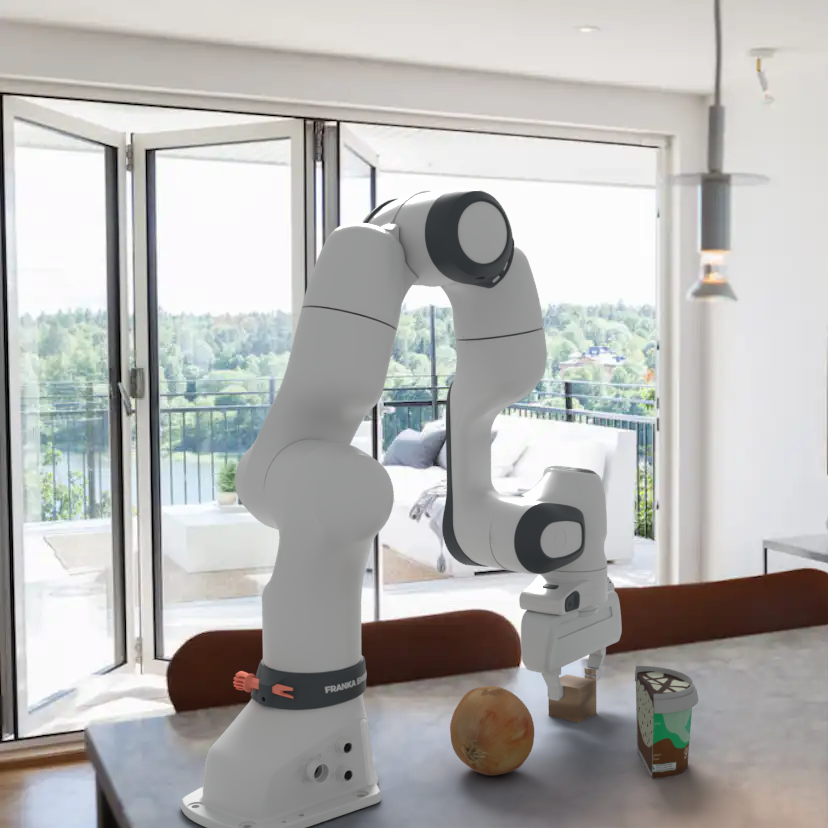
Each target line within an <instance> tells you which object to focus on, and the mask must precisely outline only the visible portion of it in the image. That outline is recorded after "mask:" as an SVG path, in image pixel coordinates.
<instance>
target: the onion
mask: <svg viewBox="0 0 828 828" xmlns="http://www.w3.org/2000/svg"><path fill="white" fill-rule="evenodd" d="M449 725H450V726H449V728H450V729H449V731H450V742H451V745H452V749H453V751H454V753H455V755H456V756H457V757H458V758H459V760H460V761H461V762H462V763H464V764H465V765H466V766H467V767H468V768H470V769H471V770H472V771H474V772H477V773H479V774H482V775H485V776H498V775H499V776H500V775H504V774H509V773H510V772H513V771H515V770H517V769H519V768H521V766H522V765H523V764H524V763H525V761H526V760H527V759H528V757H529V756H530V754H531V752H532V750H533V747H534V741H535V740H534V739H535V725H534V720H533V717H532V714H531V713H530V710H529V709H528V706H527V705H526V704H525V703H524V702H523V700H522V699H521V698H519V697H518V696H517V695H516V694H514V693H513V692H512V691H509V690H508V689H506V688H503V687H500V686H494V685H488V686H481V687H476V688H473V689H470V690H469V691H467V692H466V693H465V694H464V695H463V697H462V698H461V699H460V701H459V703H458V704H457V706H456V708H455V709H454V711H453V714H452V716H451V720H450V723H449Z"/></svg>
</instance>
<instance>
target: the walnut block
mask: <svg viewBox="0 0 828 828" xmlns="http://www.w3.org/2000/svg"><path fill="white" fill-rule="evenodd" d="M559 678H560V682H561V684H562V685H565V697H564V698H562V699H560V700H558V701H556V700H551V699H549V698H548V717H552V716H553V717H552V718H556V717H557V719H560V718H561V720H564V719H565V721H570V722H573V721H574V722H573V723H578V724H579V723H580V722H584V721H585V720H587V719H589V718H591V717H592V716H596V715H597V681H596V680H592V679H587V678H585V677H582V676H577V675H572V674H564V675H562V676H559Z"/></svg>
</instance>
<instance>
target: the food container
mask: <svg viewBox="0 0 828 828" xmlns="http://www.w3.org/2000/svg"><path fill="white" fill-rule="evenodd" d="M634 681H635V696H636V697H635V699H636V700H635V707H636V709H635V710H636V713H635V715H636V749H637V751H638V754H639V755H640V757H641V759H642V761H643V763H644V765H645V767H646V769H647V771H648V773H649V775H650V777H651V779H664V778H669V777H676V776H678V775H680V774H682V773H684V772H686V770H687V769H688V765H689V764H688V763H689V755H690V754H689V752H690V739H691V725H692V724H691V723H692V715H693V713H692V712H693V707H695V706H696V705H697V704H698V702H699V695H698V690H697V687H696V684H695V683H694V680H693V678H692V677H691V676H689V675H688V674H686V673H684V672H682V671H677V670H675V669H671V668H666V667H660V666H651V665H635V671H634Z"/></svg>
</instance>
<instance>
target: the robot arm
mask: <svg viewBox="0 0 828 828" xmlns="http://www.w3.org/2000/svg"><path fill="white" fill-rule="evenodd" d="M321 248H322V249H321V250H320V252H319V255H318V257H317V259H316V262H315V264H314V266H313V269H312V272H311V275H310V278H309V281H308V284H307V287H306V290H305V295H304V299H303V301H302V306H301V309H300V314H299V317H298V322H297V326H296V330H295V333H294V337H293V341H292V347H291V350H290V354H289V358H288V361H287V362H288V363H287V366H286V370H285V373H284V376H283V378H282V381H281V384H280V386H279V388H278V390H277V391H278V392H277V394H276V395H275V398H274V400H273V401H272V402H273V403H272V404H271V406H270V409H269V410H268V413H267V415H266V417H265V419H264V421H263V423H262V426H261V428H260V430H259V432H258V434H257V437H256V438H255V440H254V442H253V443H252V445H251V446H250V447H249V448H248V449H247V450H246V451H245V452H244V454H243V455H242V456H241V458H240V459H239V462H238V464H237V466H236V469H235V473H234V488H235V491H236V492H235V493H236V494H237V497H238V499H239V501H240V503H241V504H242V505H243V507H244V508H245V509H246V510H247V511H248V512H249V513H250V514H251V515H252V516H253V517H254V519H256V520H257V521H258V522H260V523H261V524H262V525H264V526H266V527H269V528H272V529H275V530H278V536H279V539H278V548H277V552H276V554H277V555H276V559H275V562H274V565H273V566H274V567H273V570H272V571H273V572H272V573H271V574H272V575H271V576H270V579H269V581H268V582H267V583H266V584H265V586H264V588H263V590H262V594H261V619H262V620H261V621H262V623H261V627H262V659H260V662H259V664H258V668H257V670H256V674H254V673H248V672H246V671H243V670H240V671H238V672H236V673H235V676H234V677H233V679H232V680H234V681H233V682H232V684H233V687H235V690H238V691H245V692H246V693H250V697H251V699H250V700H249V702H248V703H247V704H246V705H245V706H244V708H243V709H242V710H241V711H240V713H239V714H238V715H237V716H236V718H235V719H234V720H233V721H232V722H231V723H230V725H229V726H228V727H227V728H226V729H225V731H223V733H222V734H221V735H220V736H219V738H218V739H217V740H216V741H215V742H214V743H213V744H212V746H210V748H209V750H208V752H207V755H206V759H205V763H204V771H203V781H202V783H203V784H202V785H201V787H199V788H197V789H196V790H194V791H192V792H190V793H189V794H186V795H185V796H184V797H182V799H181V803H180V807H181V810H182V813H183V815H185V816H186V817H187V818H188V819H189V820H191V821H192V822H194V823H196V824H198V825H200V826H202V827H204V828H309V827H311V826H314V825H318V824H320V823H323V822H327V821H329V820H332V819H335V818H337V817H340V816H343V815H347V814H349V813H352V812H355V811H358V810H360V809H363V808H367V807H370V806H373V805H375V804H378V803H380V802H381V800H382V797H381V789H380V787H379V786H378V784H379V783H378V782H379V776H378V774H377V770H376V768H375V764H374V759H373V749H372V742H371V735H370V734H371V733H370V727H369V721H368V717H367V713H366V708H365V703H364V693H365V692H366V690H367V675H368V673H367V669H366V659H365V656H363V655H362V594H363V585H364V578H365V575H366V568H367V564H368V561H369V557H370V553H371V550H372V545H373V543H374V539H375V538H376V536H377V535H378V534H379V533H380V532H381V530H382V529H383V528H384V527H385V525H386V524H387V522H388V520H389V518H390V517H391V514H392V511H393V508H394V507H393V506H394V499H395V498H394V497H395V494H394V492H395V491H394V486H393V482H392V479H391V477H390V474H389V472H388V471H387V469H386V468H385V467H384V466H383V465H382V464H381V463H380V462H379V461H378V460H377V459H375V458H374V457H372V455H370V454H368V453H367V452H365V451H363V450H362V449H360V448H358V447H356V446H354V445H351V444H352V441H353V440H354V437H355V436H356V433H357V431H358V430H359V427H360V426H361V424H362V423H363V420H364V419H365V417H366V416H367V415H368V413H369V412H370V411H371V410H372V409H373V408H374V407H376V405H378V402H379V401H380V399H381V398H382V396H383V392H384V388H385V383H386V380H387V375H388V370H389V366H390V362H391V358H392V354H393V350H394V345H395V340H396V336H397V332H398V329H399V328H398V326H399V322H400V317H401V312H402V304H403V303H404V299H405V298H406V295H407V294H408V291H410V288H411V287H412V286H425V287H430V288H431V287H432V288H433V287H434V288H435V287H440V288H441V289H442V290H443V292H444V293H445V295H446V296H447V298H448V300H449V303H450V305H451V308H452V322H453V331H454V338H455V339H454V340H455V347H456V348H455V351H456V353H455V354H456V361H455V362H456V363H455V364H456V365H455V371H454V372H455V373H454V378H453V380H452V381H451V383H450V384H449V387H448V390H447V395H446V404H445V448H446V449H445V451H446V453H445V454H446V455H445V456H446V458H445V459H446V462H445V463H446V493H445V495H446V496H445V502H444V503H445V504H444V510H443V516H442V523H441V526H442V527H441V529H442V530H441V532H442V537H443V542H444V544H445V546H446V549H447V551H448V552H449V554H450V556H452V557H453V558H454V560H456V561H457V562H458V563H460V564H462V565H465V566H472V567H485V568H486V567H488V568H489V567H490V568H494V569H499V570H503V571H509V572H516V573H523V574H529V575H536V576H535V578H534V580H533V581H532V582H531V583H530V584H529V585H528V586H527V587H526V588H525V589H524V590H523V591H521V593H520V594H519V599H518V600H519V608H520V609H521V610H525V611H524V613H523V615H522V617H521V621H520V650H521V653H520V654H521V660H522V663H523V666H524V667H525V668H526V670H528V671H530V672H535V673H538V674H541V676H542V677H543V681H544V682H545V684H546V686H547V687H546V688H547V698H548V700H549V699H551V700H556V701H558V700H560V699H562V698H564V697H565V685H562V684H561V682H560V678H559V677H560V675H562V668H563V667H565V666H568V665H570V664H572V663H574V662H576V661H579V660H580V659H583V658H585V657H587V656H588V660H587V666H586V667H584V678H587V679H592V680H596V682H597V681H600V680H602V667H603V665H604V661H605V657H606V654H607V647H610V646H611V645H613V644H616V643H618V642H619V641H620V639H621V635H622V633H623V632H622V631H623V629H622V628H623V627H622V614H621V613H622V612H621V605H620V598H619V596H618V593H617V592H616V591H615V584H614V582H613V581H612V579H610V577H609V576H608V560H607V557H606V553H605V541H606V538H607V534H608V517H607V513H608V512H607V503H606V502H607V501H606V495H605V494H606V493H605V488H604V485H603V480H602V478H601V477H600V475H599V474H598V473H597V472H595V471H594V470H593V469H587V468H581V467H573V466H572V467H571V466H562V465H551V466H548V467H545V469H544V471H543V474H542V476H541V478H540V480H539V481H538V482H537V483H536V484H535V485H534V486H533V487H532V488H531V489H529V490H527V491H525V492H524V493H522V494H520V496H519V495H517V496H516V495H510V494H502V493H499V492H498V490H496V488H495V486H494V485H493V481H492V428H493V424H494V422H495V419H496V418H497V417H498V415H499V414H500V413H502V411H504V410H505V409H507V408H508V407H511V406H513V405H515V404H517V403H518V402H520V401H522V400H524V399H525V398H526V397H528V396H529V395H530V394H531V393H532V392H533V391H534V390H535V389H536V388H537V387H538V385H539V384H540V382H541V381H542V379H543V377H544V375H545V372H546V368H547V367H546V366H547V357H548V355H547V352H548V351H547V341H546V334H545V328H544V327H545V326H544V319H543V311H542V307H541V302H540V298H539V293H538V289H537V285H536V282H535V278H534V277H535V276H534V274H533V271H532V268H531V265H530V262H529V259H528V258H527V256H526V254H525V253H524V252H523V251H522V250H521V249H519V248H518V247H517V246H515V240H514V237H513V231H512V227H511V223H510V220H509V218H508V215H507V213H506V211H505V209H504V208H503V206H502V204H501V203H500V202H499V200H497V199H496V197H494V196H493V195H492V194H490V193H489V192H486V191H483V190H480V189H476V188H471V187H455V188H451V189H448V190H447V189H445V190H436V191H435V190H433V191H432V190H424V191H419V192H415V193H411V194H408V195H405V196H402V197H400V198H393V199H389V200H387V201H384V202H383V203H381V204H379V205H378V206H377V207H375V208H374V209H372V210H371V211H370V212H369V214H367V216H366V217H365V218H364V219H363V220H362V222H351V223H347V224H343V225H340V226H338V227H336V228H335V229H334V230H333V231H331V232H330V234H329V235H328V236H327V238H326V240H325V242H324V244H323V246H322V247H321Z"/></svg>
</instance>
